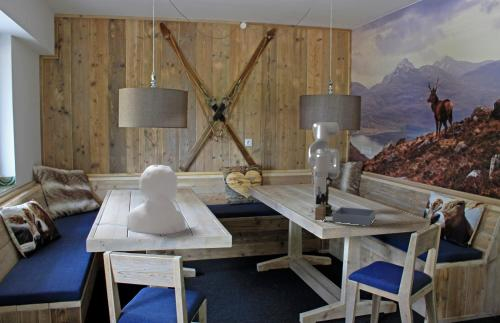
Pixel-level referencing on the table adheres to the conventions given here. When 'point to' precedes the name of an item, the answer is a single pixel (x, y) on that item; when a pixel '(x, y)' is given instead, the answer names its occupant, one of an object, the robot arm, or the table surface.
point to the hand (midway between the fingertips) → (320, 203)
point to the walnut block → (320, 213)
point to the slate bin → (354, 216)
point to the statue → (327, 206)
